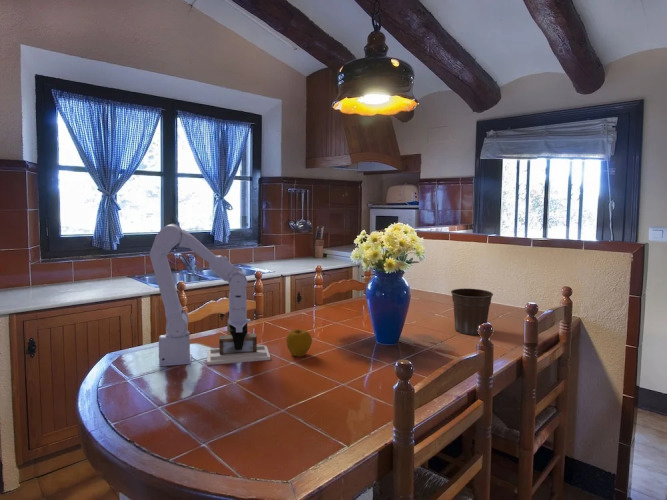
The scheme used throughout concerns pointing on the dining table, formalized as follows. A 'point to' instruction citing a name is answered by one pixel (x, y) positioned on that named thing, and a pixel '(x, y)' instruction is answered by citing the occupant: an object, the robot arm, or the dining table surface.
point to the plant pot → (470, 309)
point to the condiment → (230, 328)
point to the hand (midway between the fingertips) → (238, 347)
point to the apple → (298, 342)
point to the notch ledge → (237, 356)
